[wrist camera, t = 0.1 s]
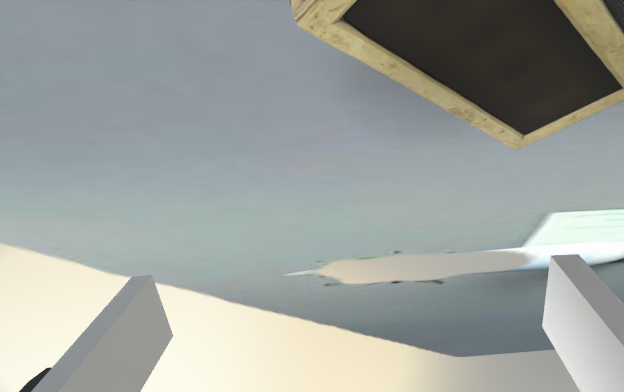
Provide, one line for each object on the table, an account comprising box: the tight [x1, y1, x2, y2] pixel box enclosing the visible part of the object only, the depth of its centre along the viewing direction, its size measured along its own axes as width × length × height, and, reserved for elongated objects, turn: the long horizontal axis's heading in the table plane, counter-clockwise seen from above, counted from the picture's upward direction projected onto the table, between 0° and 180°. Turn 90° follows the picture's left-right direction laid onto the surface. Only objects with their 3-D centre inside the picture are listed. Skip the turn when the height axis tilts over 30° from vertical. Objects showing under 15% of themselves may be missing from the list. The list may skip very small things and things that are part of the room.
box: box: [290, 0, 624, 149], centre depth 20 cm, size 8×22×5 cm, turn 52°
